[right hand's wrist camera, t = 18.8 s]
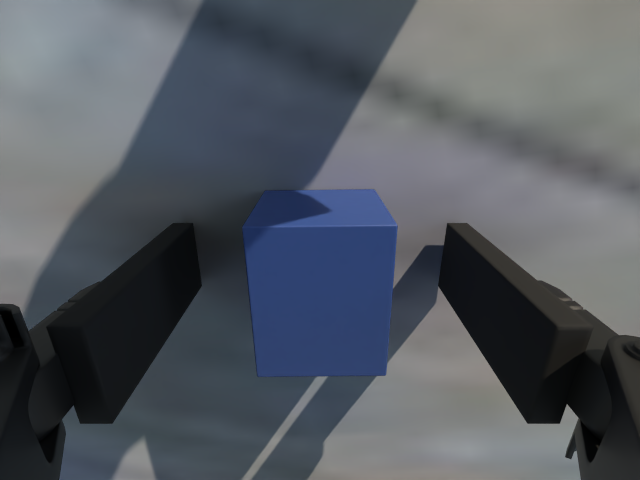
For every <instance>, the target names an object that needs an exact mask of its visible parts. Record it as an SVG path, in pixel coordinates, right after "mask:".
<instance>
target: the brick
mask: <svg viewBox="0 0 640 480" xmlns="http://www.w3.org/2000/svg"><path fill="white" fill-rule="evenodd" d="M242 232H243V242H244V251H245V261H246V271H247V281H248V291H249V301H250V311H251V321H252V331H253V340H254V350H255V360H256V370H257V376H258V377H295V376H385V375H386V370H387V357H388V344H389V331H390V318H391V305H392V291H393V278H394V265H395V252H396V239H397V224H396V222H395V221H394V219H393V218H392V216H391V214H390V213H389V211H388V210H387V208H386V207H385V205H384V204H383V202H382V200H381V199H380V197H379V196H378V194H377V193H376V191H375V190H374V189H364V190H275V191H264V193H263V195H262V196H261V198H260V199H259V201H258V203H257V204H256V206H255V207H254V209H253V211H252V212H251V214H250V215H249V217H248V219H247V220H246V222H245V223H244V225H243V227H242Z"/></svg>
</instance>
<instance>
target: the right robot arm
mask: <svg viewBox="0 0 640 480" xmlns="http://www.w3.org/2000/svg"><path fill="white" fill-rule="evenodd" d="M201 286H202V284H201V277H200V270H199V263H198V256H197V249H196V242H195V236H194V229H193V223H173V224H172V225H170V226H169V227H168V228H167V229H165V230H164V231H163V232H162V233H160V234H159V235H158V236H157V237H156V238H154V239H153V240H152V241H151V242H149V243H148V244H147V245H146V246H145V247H143V248H142V249H141V250H140V251H138V252H137V253H136V254H135V255H133V256H132V257H131V258H130V259H129V260H127V261H126V262H125V263H124V264H122V265H121V266H120V267H119V268H117V269H116V270H115V271H114V272H113V273H111V274H110V275H109V276H108V277H106V278H105V279H104V280H103V281H102V282H97V283H95V284H93V285H91V286H89V287H87V288H85V289H83V290H81V291H80V292H78V293H77V294H76V295H74V296H73V297H72V298H71V299H69V300H68V302H66V303H64V304H63V305H62V306H60V307H59V308H58V309H57V311H54V312H53V313H51V314H50V315H49V316H48V317H46V318H45V319H44V320H42V321H41V322H40V323H39V324H37V325H36V326H35V327H34V328H32V329H31V330H30V331H28V329H27V326H26V324H25V321H24V318H23V316H22V313H21V311H20V308H19V307H18V306H16V305H13V304H0V480H59V477H60V470H61V463H62V456H63V450H64V443H65V436H66V432H65V427H64V424H63V421H62V418H63V417H64V416H65V415H66V414H67V412H68V411H69V410H70V409H71V407H72V406H73V405H74V407H75V410H76V413H77V416H78V419H79V422H80V424H112V423H113V422H114V420H115V419H116V417H117V416H118V414H119V413H120V411H121V410H122V408H123V406H124V405H125V403H126V402H127V400H128V399H129V397H130V396H131V394H132V393H133V391H134V389H135V388H136V386H137V385H138V383H139V382H140V380H141V379H142V377H143V376H144V374H145V373H146V371H147V369H148V368H149V366H150V365H151V363H152V362H153V360H154V359H155V357H156V356H157V354H158V352H159V351H160V349H161V348H162V346H163V345H164V343H165V342H166V340H167V339H168V337H169V336H170V334H171V332H172V331H173V329H174V328H175V326H176V325H177V323H178V322H179V320H180V319H181V317H182V315H183V314H184V312H185V311H186V309H187V308H188V306H189V305H190V303H191V302H192V300H193V299H194V297H195V295H196V294H197V292H198V291H199V289H200V288H201ZM438 286H439V288H440V289H441V291H442V292H443V294H444V295H445V297H446V299H447V300H448V302H449V303H450V305H451V306H452V308H453V309H454V311H455V312H456V314H457V316H458V317H459V319H460V320H461V322H462V323H463V325H464V326H465V328H466V329H467V331H468V332H469V334H470V336H471V337H472V339H473V340H474V342H475V343H476V345H477V346H478V348H479V349H480V351H481V353H482V354H483V356H484V357H485V359H486V360H487V362H488V363H489V365H490V366H491V368H492V369H493V371H494V373H495V374H496V376H497V377H498V379H499V380H500V382H501V383H502V385H503V386H504V388H505V390H506V391H507V393H508V394H509V396H510V397H511V399H512V400H513V402H514V403H515V405H516V406H517V408H518V410H519V411H520V413H521V414H522V416H523V417H524V419H525V420H526V422H527V423H528V424H560V421H561V419H562V416H563V413H564V410H565V407H566V405H567V404H568V405H569V407H570V408H571V409H572V410H573V412H574V413H575V414H576V415H577V416H578V418H579V419H578V421H577V424H576V427H575V429H574V432H573V435H572V437H571V440H570V442H569V445H568V448H567V451H566V456H565V457H567V458H569V459H571V458H572V456H573V453H574V451H577V455H578V462H579V469H580V476H581V480H640V337H634V336H628V335H618V334H617V333H615V332H614V331H613V330H611V329H610V328H609V327H608V326H606V325H605V324H604V323H602V322H601V321H600V320H598V319H597V318H596V317H595V316H593V315H592V314H591V313H589V312H588V311H587V310H583V307H582V306H580V305H579V304H578V303H577V302H575V301H572V299H571V298H570V297H569V296H568V295H566V294H565V293H564V292H562V291H561V290H560V289H558V288H556V287H554V286H552V285H550V284H548V283H546V282H543V281H537V280H536V279H535V278H534V277H532V276H531V275H530V274H529V273H527V272H526V271H525V270H524V269H522V268H521V267H520V266H519V265H518V264H516V263H515V262H514V261H513V260H511V259H510V258H509V257H508V256H507V255H505V254H504V253H503V252H502V251H500V250H499V249H498V248H497V247H495V246H494V245H493V244H492V243H491V242H489V241H488V240H487V239H486V238H484V237H483V236H482V235H481V234H480V233H478V232H477V231H476V230H475V229H473V228H472V227H471V226H470V225H468V224H467V223H447V229H446V236H445V242H444V249H443V256H442V263H441V270H440V277H439V284H438Z"/></svg>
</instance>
